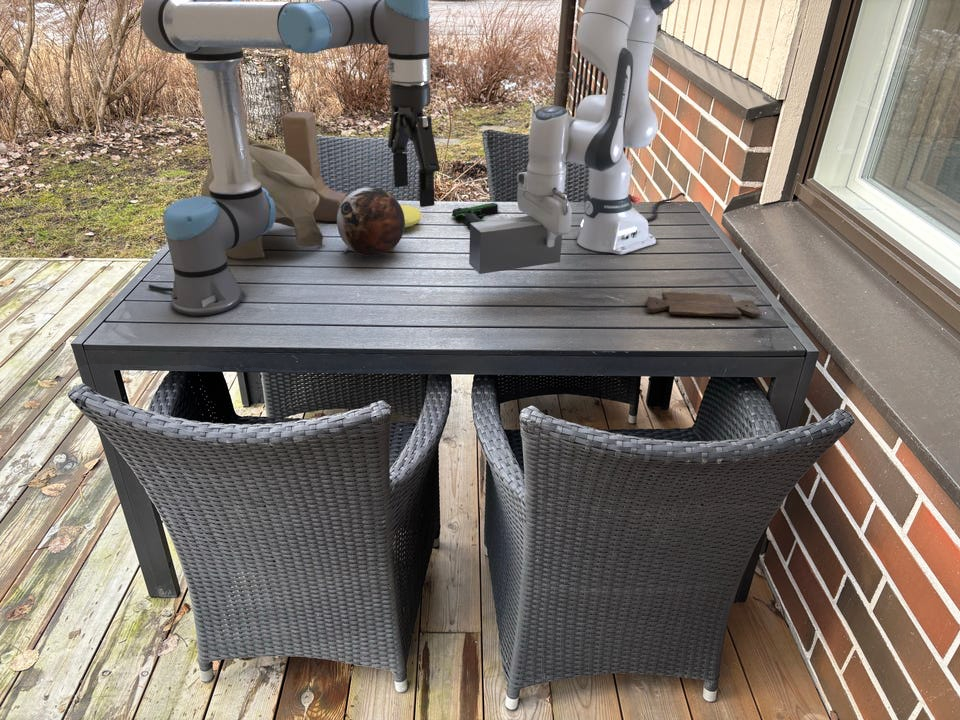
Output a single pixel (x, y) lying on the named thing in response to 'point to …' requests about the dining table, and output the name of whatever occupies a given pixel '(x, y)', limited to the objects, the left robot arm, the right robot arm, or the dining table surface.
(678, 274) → the dining table surface
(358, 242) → the marbled brown ball
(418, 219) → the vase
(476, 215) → the handgun
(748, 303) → the dark wooden board
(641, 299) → the dining table surface
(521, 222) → the box
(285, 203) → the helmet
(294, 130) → the decorative block
